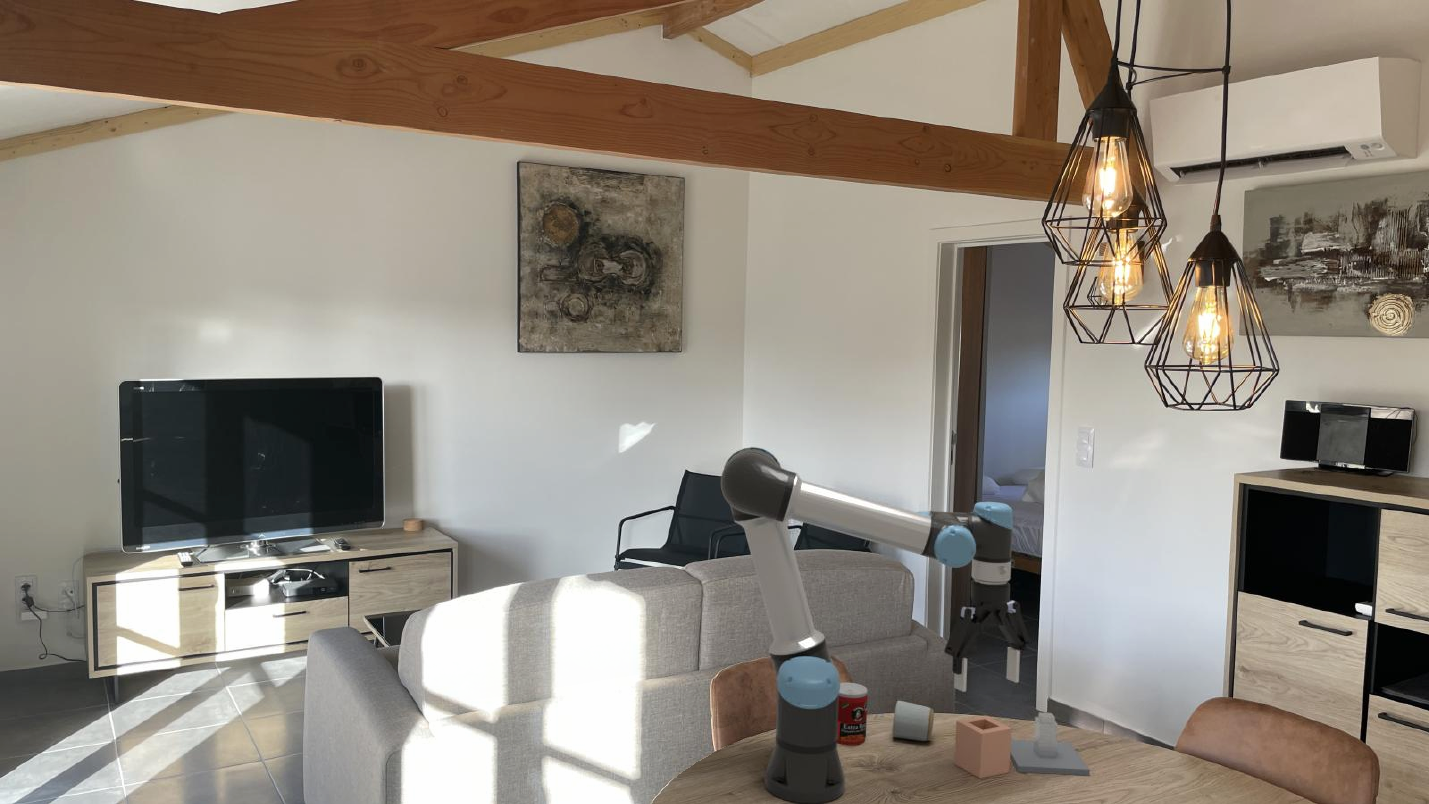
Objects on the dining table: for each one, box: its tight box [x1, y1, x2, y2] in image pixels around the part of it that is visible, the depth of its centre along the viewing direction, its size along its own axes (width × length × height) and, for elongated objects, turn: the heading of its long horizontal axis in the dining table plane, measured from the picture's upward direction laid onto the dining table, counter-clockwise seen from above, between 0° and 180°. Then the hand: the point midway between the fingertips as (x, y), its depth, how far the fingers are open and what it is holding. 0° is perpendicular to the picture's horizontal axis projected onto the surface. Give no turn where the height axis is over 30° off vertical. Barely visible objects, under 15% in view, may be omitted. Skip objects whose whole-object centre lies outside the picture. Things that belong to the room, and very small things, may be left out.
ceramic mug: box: [892, 700, 935, 742], centre depth 224 cm, size 11×8×8 cm
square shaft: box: [1033, 711, 1059, 758], centre depth 213 cm, size 4×4×8 cm
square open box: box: [954, 715, 1012, 780], centre depth 207 cm, size 8×8×9 cm
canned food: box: [837, 681, 869, 746], centre depth 221 cm, size 8×8×11 cm
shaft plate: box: [1010, 738, 1091, 777], centre depth 213 cm, size 14×14×1 cm
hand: (986, 685), depth 207 cm, fingers open, 13 cm apart
